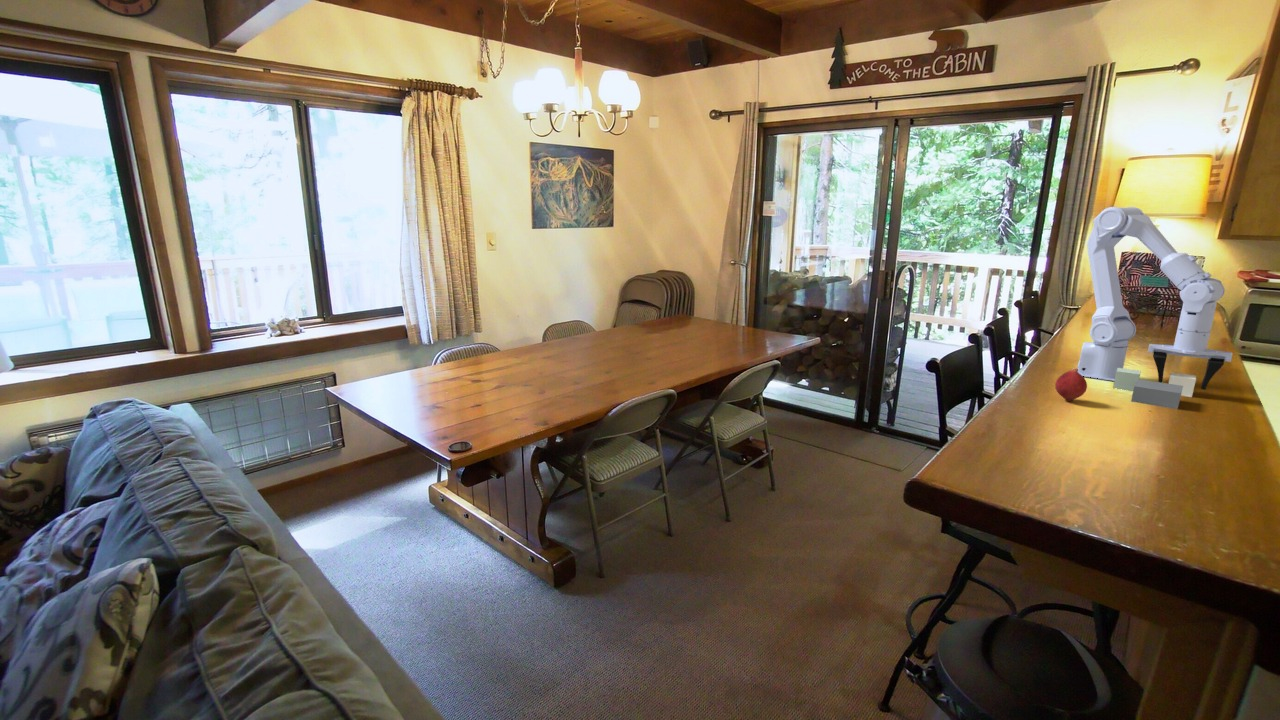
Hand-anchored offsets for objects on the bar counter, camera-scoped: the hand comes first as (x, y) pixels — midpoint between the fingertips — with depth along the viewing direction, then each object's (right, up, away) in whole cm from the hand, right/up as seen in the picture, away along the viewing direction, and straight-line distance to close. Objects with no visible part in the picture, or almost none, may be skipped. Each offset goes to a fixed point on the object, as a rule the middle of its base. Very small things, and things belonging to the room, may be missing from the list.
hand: (1181, 385), depth 140 cm
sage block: (-9, -1, +5) cm, 11 cm away
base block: (-11, -4, -5) cm, 13 cm away
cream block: (0, -2, +1) cm, 2 cm away
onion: (-31, -4, -5) cm, 32 cm away
